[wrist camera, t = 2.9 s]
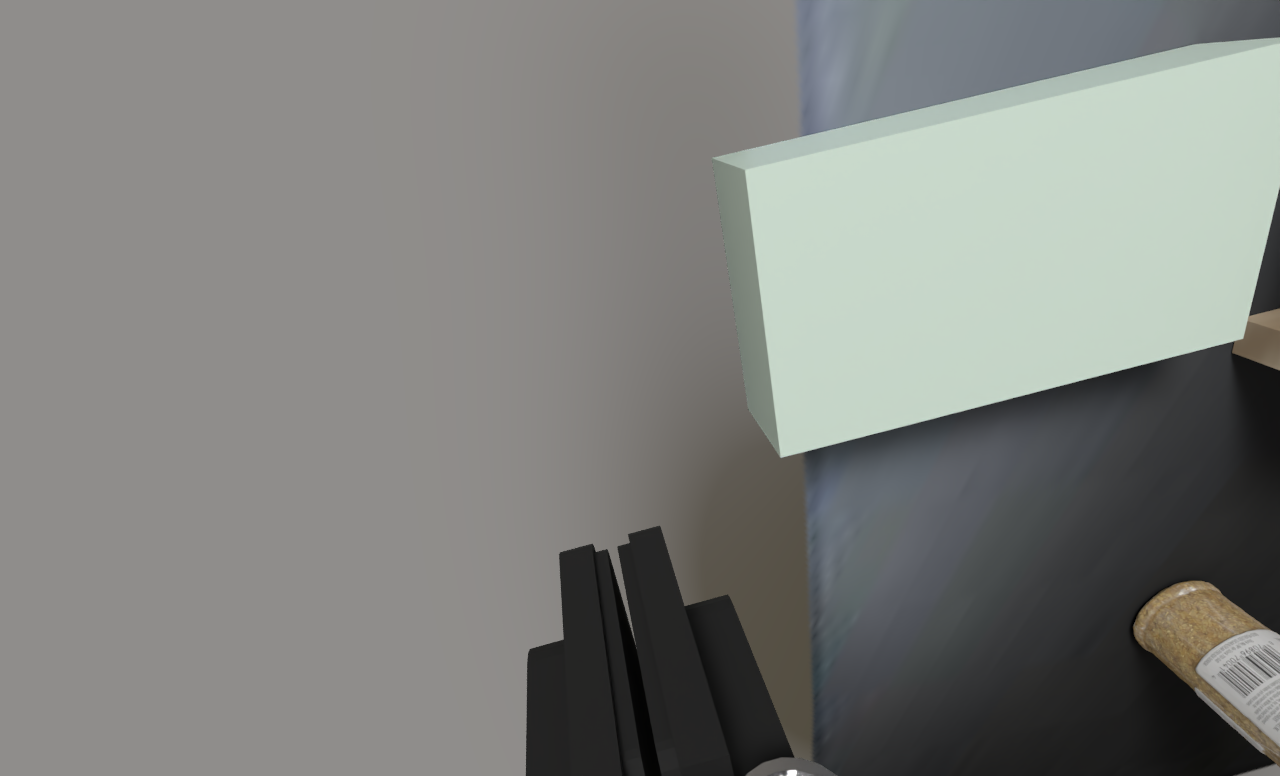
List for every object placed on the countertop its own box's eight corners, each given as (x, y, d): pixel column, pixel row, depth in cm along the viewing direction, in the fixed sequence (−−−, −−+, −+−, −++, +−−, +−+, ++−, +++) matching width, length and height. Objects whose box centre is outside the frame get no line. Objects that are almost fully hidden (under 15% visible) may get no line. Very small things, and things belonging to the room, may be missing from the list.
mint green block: (711, 157, 19) (744, 169, 16) (1194, 44, 20) (1315, 34, 17) (748, 409, 23) (780, 458, 20) (1150, 307, 24) (1243, 338, 21)
